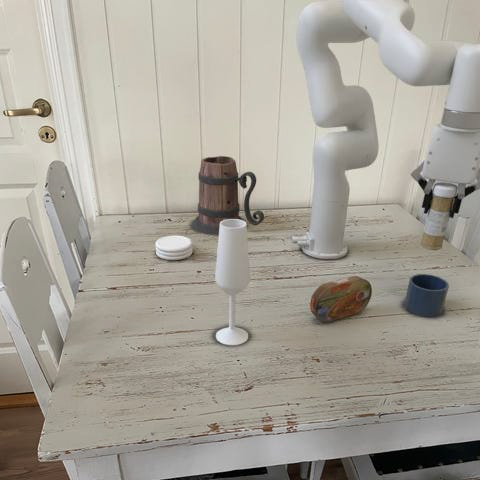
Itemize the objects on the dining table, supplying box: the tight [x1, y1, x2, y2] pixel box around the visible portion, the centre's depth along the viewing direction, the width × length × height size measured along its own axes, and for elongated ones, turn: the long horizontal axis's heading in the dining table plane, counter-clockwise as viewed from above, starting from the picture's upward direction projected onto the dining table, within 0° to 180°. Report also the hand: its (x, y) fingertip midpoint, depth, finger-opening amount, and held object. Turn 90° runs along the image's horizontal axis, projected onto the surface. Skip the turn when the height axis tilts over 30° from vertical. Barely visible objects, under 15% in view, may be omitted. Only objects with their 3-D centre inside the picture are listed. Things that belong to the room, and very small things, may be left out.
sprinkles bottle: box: [420, 181, 458, 251], centre depth 101 cm, size 5×5×14 cm
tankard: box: [191, 155, 265, 236], centre depth 147 cm, size 24×17×20 cm
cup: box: [403, 273, 450, 318], centre depth 109 cm, size 8×8×6 cm
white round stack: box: [154, 235, 194, 261], centre depth 133 cm, size 10×10×4 cm
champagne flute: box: [214, 219, 251, 346], centre depth 93 cm, size 7×7×24 cm
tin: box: [309, 275, 373, 323], centre depth 105 cm, size 15×3×8 cm, turn 117°
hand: (439, 212), depth 101 cm, fingers closed on sprinkles bottle, 4 cm apart
